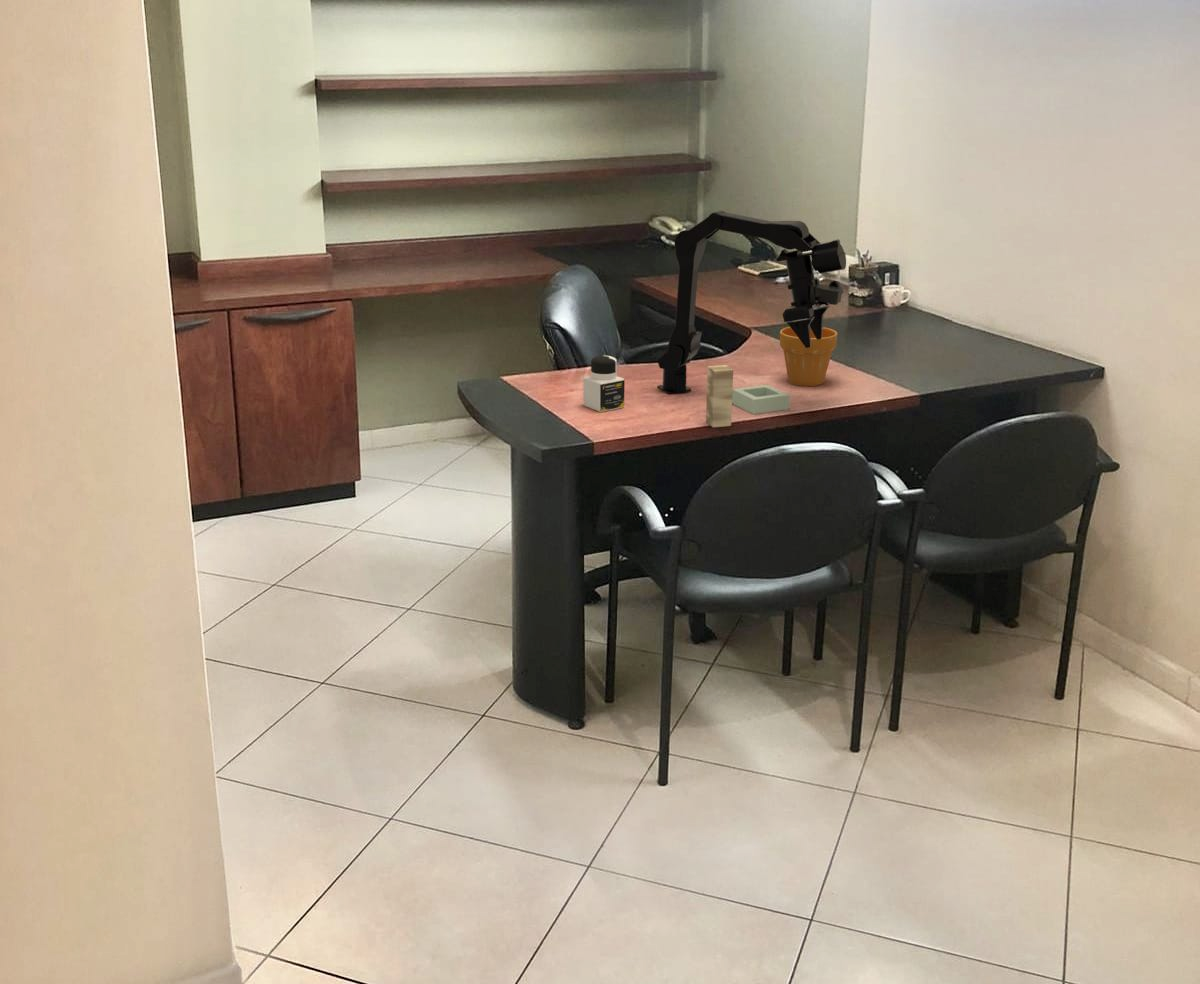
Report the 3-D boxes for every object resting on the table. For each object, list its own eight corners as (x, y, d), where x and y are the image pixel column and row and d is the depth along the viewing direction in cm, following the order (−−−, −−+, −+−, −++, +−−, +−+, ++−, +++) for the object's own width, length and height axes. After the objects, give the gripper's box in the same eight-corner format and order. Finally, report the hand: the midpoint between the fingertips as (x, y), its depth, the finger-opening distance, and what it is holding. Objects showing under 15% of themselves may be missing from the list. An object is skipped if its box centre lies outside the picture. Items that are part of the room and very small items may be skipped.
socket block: (731, 403, 293) (732, 389, 292) (767, 398, 297) (767, 384, 296) (753, 414, 285) (754, 399, 284) (789, 409, 289) (789, 394, 288)
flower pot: (791, 391, 303) (794, 339, 299) (768, 376, 316) (771, 327, 312) (843, 387, 307) (847, 336, 302) (819, 373, 320) (822, 323, 315)
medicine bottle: (600, 412, 286) (600, 362, 282) (582, 405, 291) (582, 356, 287) (624, 407, 290) (625, 358, 286) (607, 400, 295) (607, 352, 291)
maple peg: (705, 421, 279) (707, 366, 275) (723, 420, 281) (725, 365, 276) (712, 427, 275) (714, 371, 271) (731, 425, 277) (733, 369, 272)
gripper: (824, 278, 269) (836, 347, 273) (846, 264, 285) (857, 330, 289) (776, 286, 275) (789, 354, 278) (800, 272, 291) (812, 336, 294)
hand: (813, 343), depth 285 cm, fingers open, 9 cm apart
